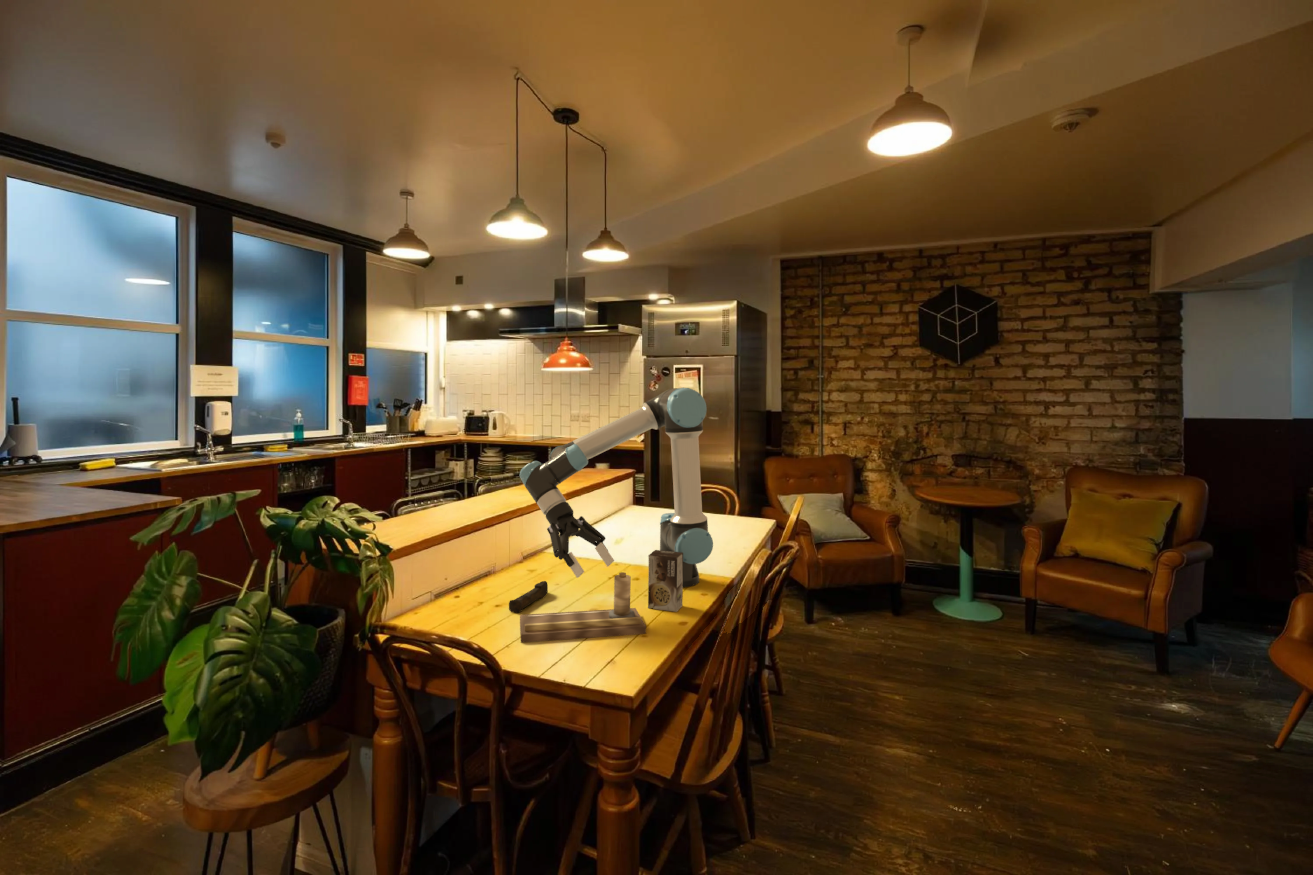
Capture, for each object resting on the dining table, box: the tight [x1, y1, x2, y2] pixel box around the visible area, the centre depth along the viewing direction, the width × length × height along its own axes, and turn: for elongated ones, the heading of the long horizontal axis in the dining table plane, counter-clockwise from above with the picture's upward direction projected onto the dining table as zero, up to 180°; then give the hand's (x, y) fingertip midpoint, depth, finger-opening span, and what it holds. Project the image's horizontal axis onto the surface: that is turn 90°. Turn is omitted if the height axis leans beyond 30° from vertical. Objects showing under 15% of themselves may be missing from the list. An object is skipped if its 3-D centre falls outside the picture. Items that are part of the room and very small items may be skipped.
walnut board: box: [519, 607, 647, 643], centre depth 165 cm, size 32×14×4 cm, turn 103°
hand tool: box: [508, 580, 549, 614], centre depth 184 cm, size 19×4×5 cm, turn 158°
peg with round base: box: [609, 571, 635, 619], centre depth 168 cm, size 7×7×12 cm
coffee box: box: [647, 549, 684, 613], centre depth 182 cm, size 9×6×16 cm
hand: (596, 569), depth 171 cm, fingers open, 13 cm apart
